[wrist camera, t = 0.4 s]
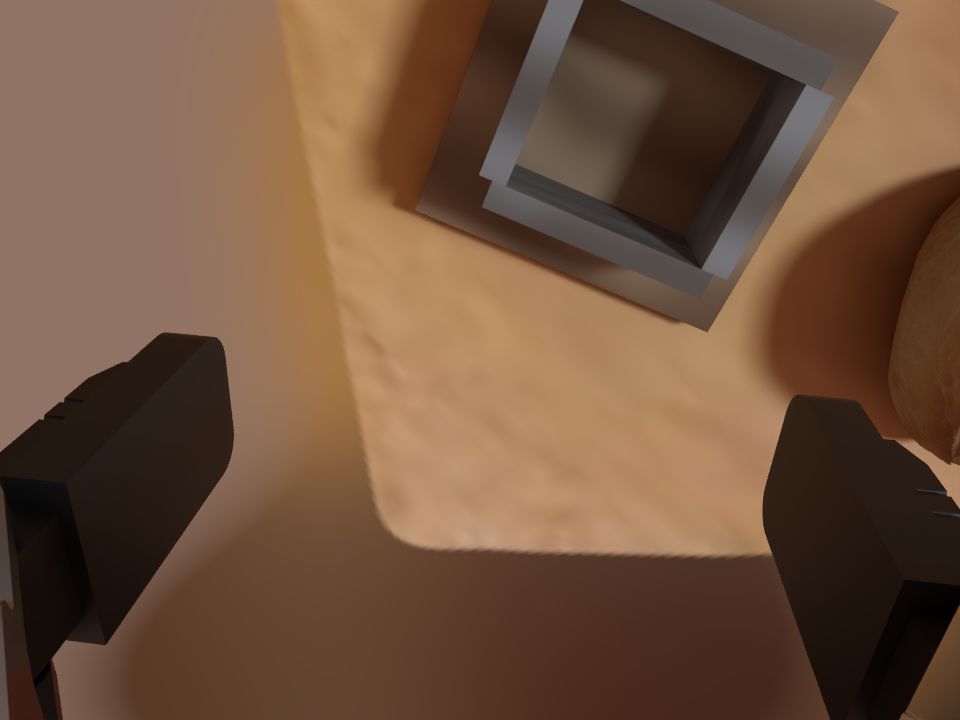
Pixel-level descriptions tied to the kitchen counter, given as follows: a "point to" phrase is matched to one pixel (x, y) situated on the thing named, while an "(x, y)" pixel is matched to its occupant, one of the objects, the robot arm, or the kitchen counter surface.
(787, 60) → the grey open box
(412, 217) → the kitchen counter surface
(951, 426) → the bread roll
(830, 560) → the robot arm
